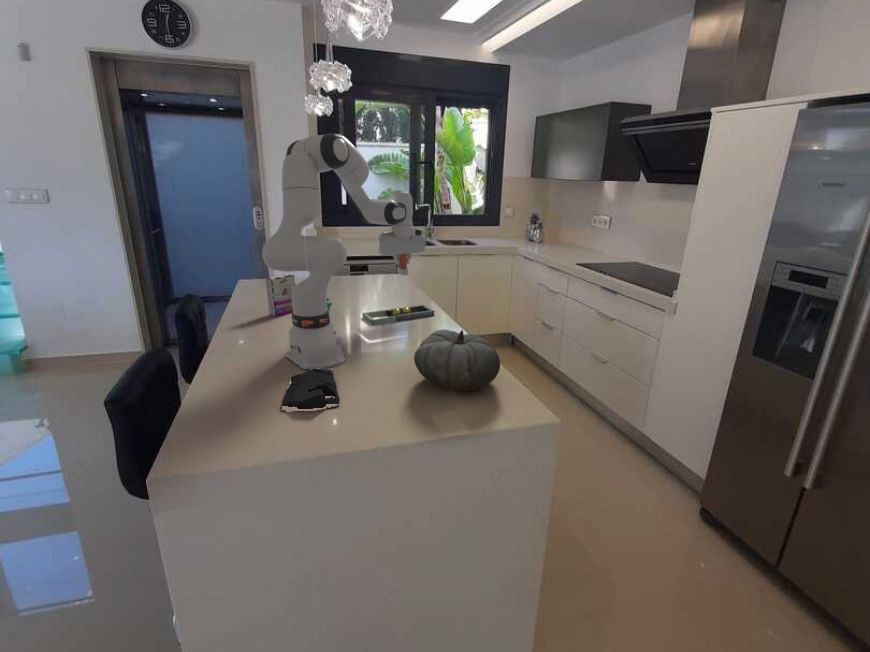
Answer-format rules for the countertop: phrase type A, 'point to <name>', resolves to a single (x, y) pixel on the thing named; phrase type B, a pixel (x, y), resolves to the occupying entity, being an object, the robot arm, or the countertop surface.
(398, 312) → the shiny gold ball
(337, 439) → the countertop surface
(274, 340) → the countertop surface
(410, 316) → the tray
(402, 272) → the red-brown bar
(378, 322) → the tray
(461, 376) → the gourd
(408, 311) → the yellow-brown round piece
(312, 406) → the dark slate chunk
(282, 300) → the candy bar box
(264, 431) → the countertop surface
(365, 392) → the countertop surface
